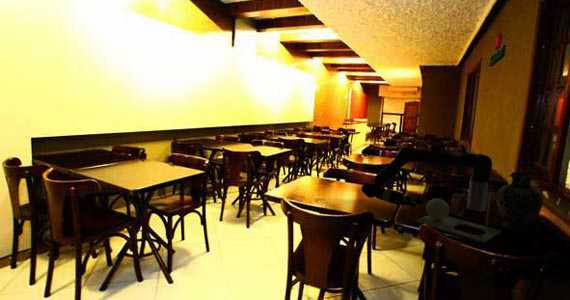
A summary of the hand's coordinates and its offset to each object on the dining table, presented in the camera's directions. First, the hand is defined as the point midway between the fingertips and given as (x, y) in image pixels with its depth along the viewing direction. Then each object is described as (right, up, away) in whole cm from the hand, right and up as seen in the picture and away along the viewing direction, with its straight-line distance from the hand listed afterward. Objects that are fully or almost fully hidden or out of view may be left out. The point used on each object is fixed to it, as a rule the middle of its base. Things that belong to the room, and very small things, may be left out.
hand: (419, 203), depth 172 cm
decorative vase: (+44, -10, -11) cm, 46 cm away
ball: (+6, -2, -8) cm, 10 cm away
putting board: (+12, -9, -14) cm, 20 cm away
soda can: (+23, -8, +4) cm, 25 cm away
